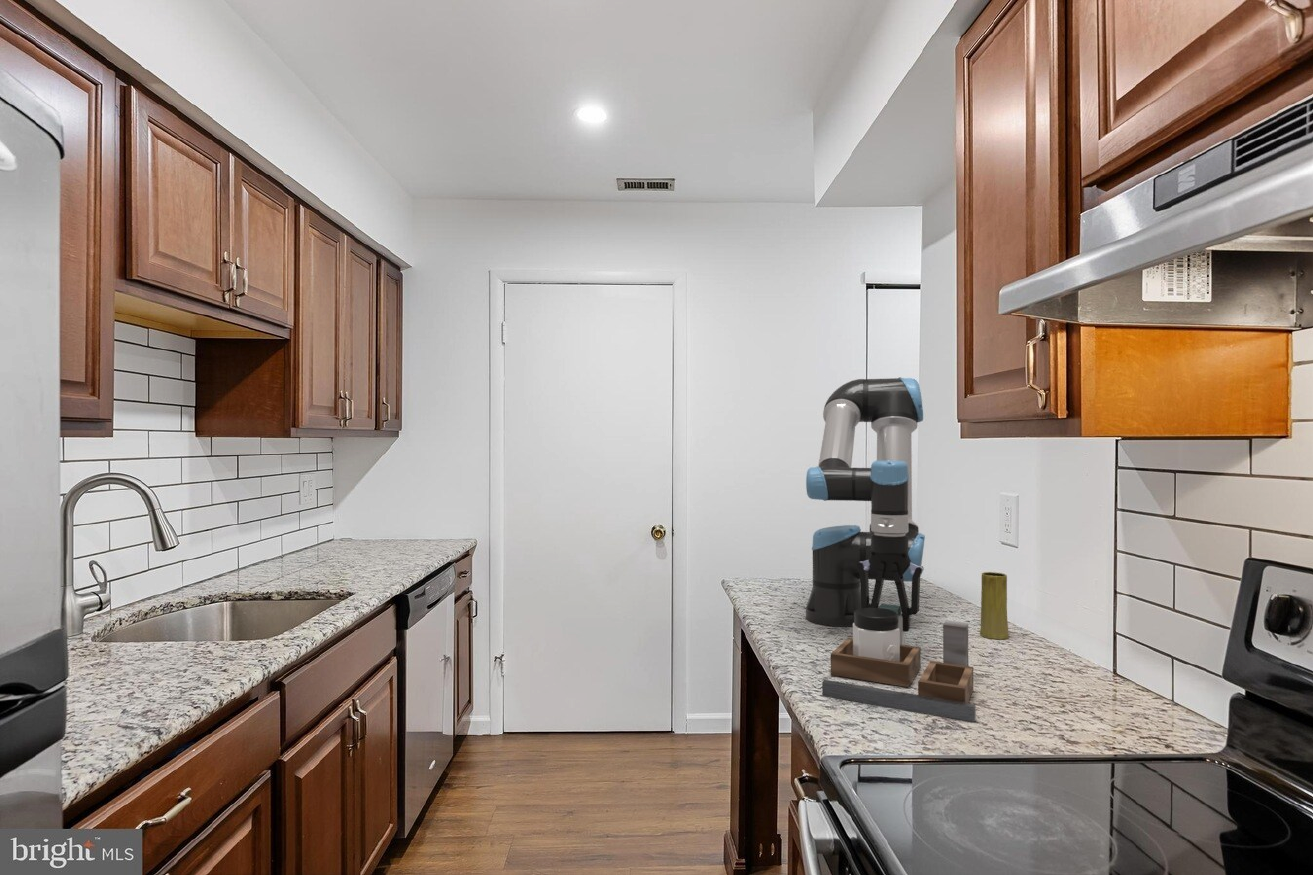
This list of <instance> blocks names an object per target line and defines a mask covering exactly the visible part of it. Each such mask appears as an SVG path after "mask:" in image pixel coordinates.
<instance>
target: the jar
mask: <svg viewBox="0 0 1313 875" xmlns="http://www.w3.org/2000/svg"><path fill="white" fill-rule="evenodd" d="M852 638H853V655H854V656H861V657H868V658H875V659H882V660H889V661H896V662H900V629H899V628H898V614H897V613H896V612H894V611H892V610H888V609H882V608H860V609H857V610H855V611H854V623H853V626H852Z"/></svg>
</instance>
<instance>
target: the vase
mask: <svg viewBox="0 0 1313 875" xmlns="http://www.w3.org/2000/svg"><path fill="white" fill-rule="evenodd" d="M1007 582H1008V576H1007V574H1006V573H1002V572H996V571H993V572H992V571H984V572H981V598H980V600H981V601H980V604H981V605H980V606H981V607H980V629H979V630H980V631H979V635H980V636H981V637H982V638H986V639H989V640H990V639H992V640H1007V639H1009V637H1010V634H1009V623H1008V605H1007V604H1008V583H1007Z"/></svg>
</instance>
